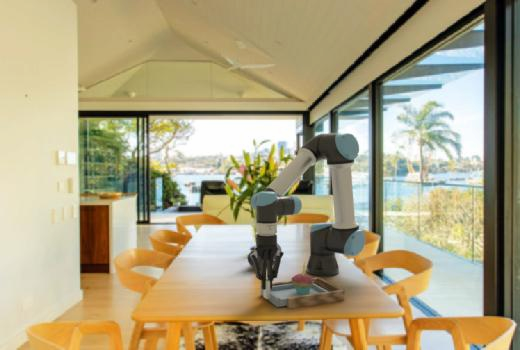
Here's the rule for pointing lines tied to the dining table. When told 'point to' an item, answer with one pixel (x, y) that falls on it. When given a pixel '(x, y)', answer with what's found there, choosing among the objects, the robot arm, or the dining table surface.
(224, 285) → the dining table surface
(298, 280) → the cupcake
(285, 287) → the tray
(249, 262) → the bluetooth speaker
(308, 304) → the dock
